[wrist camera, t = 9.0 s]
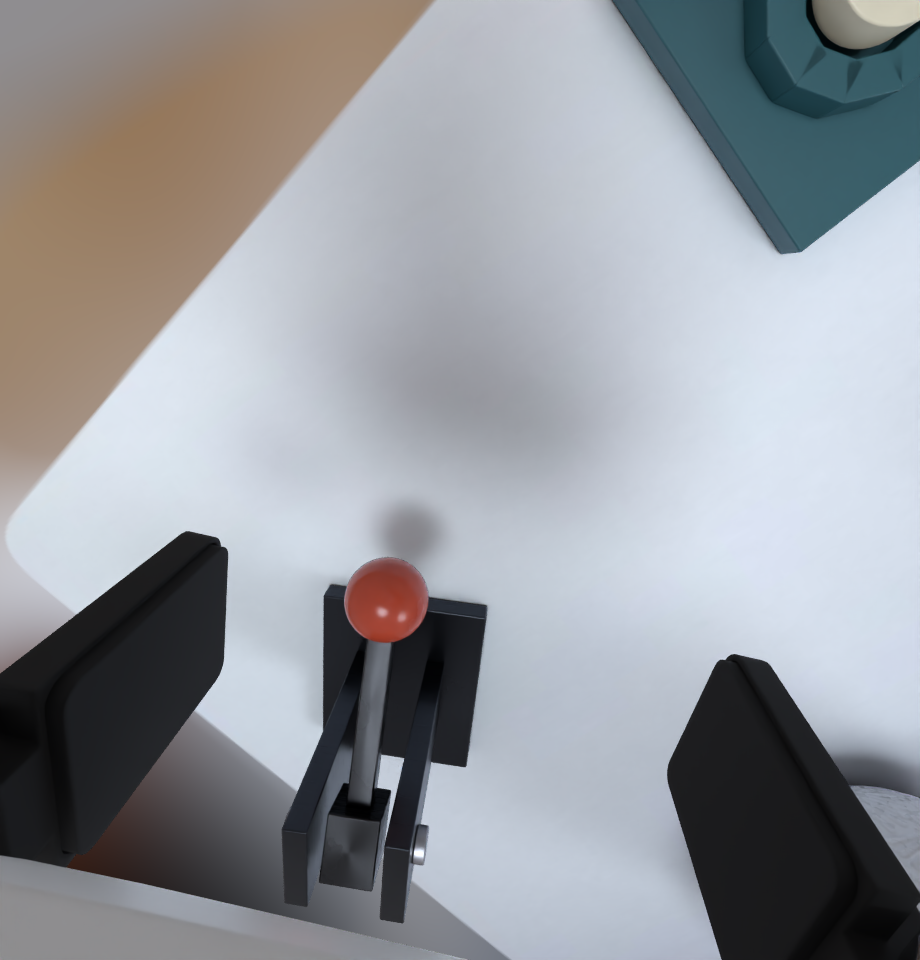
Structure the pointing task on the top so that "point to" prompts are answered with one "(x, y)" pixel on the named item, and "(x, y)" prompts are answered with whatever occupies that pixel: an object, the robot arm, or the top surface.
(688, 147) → the top surface
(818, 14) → the button
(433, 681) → the lever base
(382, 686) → the lever
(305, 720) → the top surface
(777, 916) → the robot arm
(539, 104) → the top surface
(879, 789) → the planter
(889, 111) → the block
